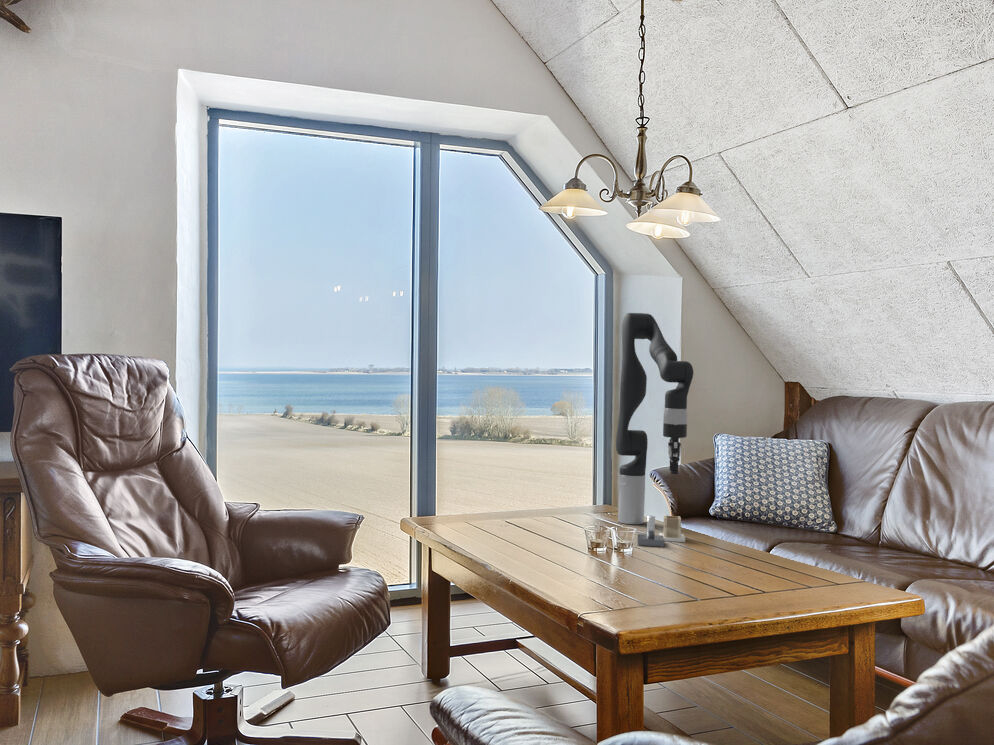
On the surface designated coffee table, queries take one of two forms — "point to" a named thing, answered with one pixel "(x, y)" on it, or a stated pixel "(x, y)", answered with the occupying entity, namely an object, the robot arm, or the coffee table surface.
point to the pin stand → (650, 535)
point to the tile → (673, 538)
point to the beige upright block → (672, 526)
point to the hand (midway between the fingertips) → (673, 472)
